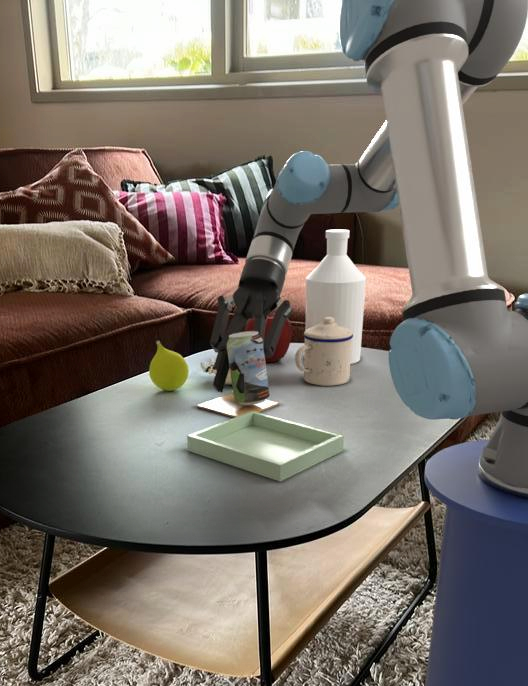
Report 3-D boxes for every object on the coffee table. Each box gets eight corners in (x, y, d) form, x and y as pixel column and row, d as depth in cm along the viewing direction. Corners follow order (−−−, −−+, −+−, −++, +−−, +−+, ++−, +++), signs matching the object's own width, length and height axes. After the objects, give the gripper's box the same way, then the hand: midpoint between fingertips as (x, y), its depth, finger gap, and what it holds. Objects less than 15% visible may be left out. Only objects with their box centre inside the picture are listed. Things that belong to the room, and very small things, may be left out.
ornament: (148, 386, 142) (144, 332, 138) (185, 382, 144) (182, 329, 139) (153, 397, 136) (149, 341, 131) (192, 393, 137) (190, 338, 133)
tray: (343, 450, 111) (343, 435, 110) (280, 481, 102) (280, 465, 101) (252, 425, 122) (252, 410, 121) (187, 450, 112) (186, 435, 111)
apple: (288, 354, 162) (289, 306, 157) (294, 366, 153) (295, 316, 149) (244, 355, 161) (243, 307, 157) (247, 367, 153) (246, 317, 148)
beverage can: (260, 411, 126) (260, 338, 120) (220, 405, 129) (219, 334, 123) (275, 400, 131) (276, 330, 125) (237, 395, 134) (236, 326, 128)
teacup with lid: (328, 370, 150) (331, 310, 145) (360, 381, 143) (364, 318, 138) (280, 381, 144) (281, 318, 139) (311, 392, 137) (313, 327, 132)
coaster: (279, 404, 131) (279, 402, 131) (240, 419, 124) (240, 417, 124) (236, 393, 137) (236, 391, 137) (197, 407, 130) (197, 405, 130)
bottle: (354, 350, 164) (361, 226, 153) (367, 364, 153) (375, 233, 142) (300, 352, 163) (302, 228, 152) (308, 366, 153) (312, 234, 142)
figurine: (217, 348, 148) (265, 347, 140) (222, 380, 150) (269, 380, 143) (191, 356, 143) (239, 355, 135) (196, 388, 145) (244, 389, 138)
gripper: (314, 286, 133) (281, 405, 126) (228, 281, 138) (191, 395, 132) (305, 258, 126) (269, 383, 120) (215, 254, 132) (176, 373, 125)
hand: (228, 389), depth 126 cm, fingers closed on beverage can, 3 cm apart
